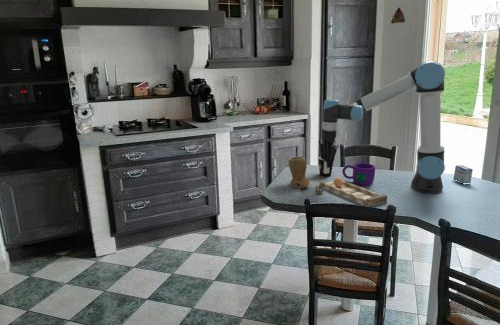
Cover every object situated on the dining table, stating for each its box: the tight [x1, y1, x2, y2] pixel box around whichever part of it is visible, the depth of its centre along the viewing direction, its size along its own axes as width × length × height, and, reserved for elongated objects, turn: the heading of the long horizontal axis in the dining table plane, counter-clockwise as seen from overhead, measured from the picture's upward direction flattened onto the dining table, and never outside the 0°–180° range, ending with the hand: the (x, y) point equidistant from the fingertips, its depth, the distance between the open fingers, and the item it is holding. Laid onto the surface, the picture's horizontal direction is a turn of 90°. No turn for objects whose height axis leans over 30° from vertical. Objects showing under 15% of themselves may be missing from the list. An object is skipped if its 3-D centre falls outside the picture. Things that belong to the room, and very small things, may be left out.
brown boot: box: [288, 156, 311, 190], centre depth 207 cm, size 15×12×15 cm
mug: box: [341, 162, 376, 187], centre depth 211 cm, size 17×11×10 cm, turn 59°
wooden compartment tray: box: [318, 177, 388, 207], centre depth 195 cm, size 34×12×4 cm, turn 32°
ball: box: [333, 177, 344, 187], centre depth 202 cm, size 5×5×5 cm
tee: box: [315, 185, 324, 196], centre depth 196 cm, size 3×3×4 cm
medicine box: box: [453, 164, 474, 184], centre depth 211 cm, size 8×4×9 cm, turn 13°
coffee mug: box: [318, 156, 334, 178], centre depth 225 cm, size 12×9×10 cm
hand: (326, 172), depth 209 cm, fingers closed
